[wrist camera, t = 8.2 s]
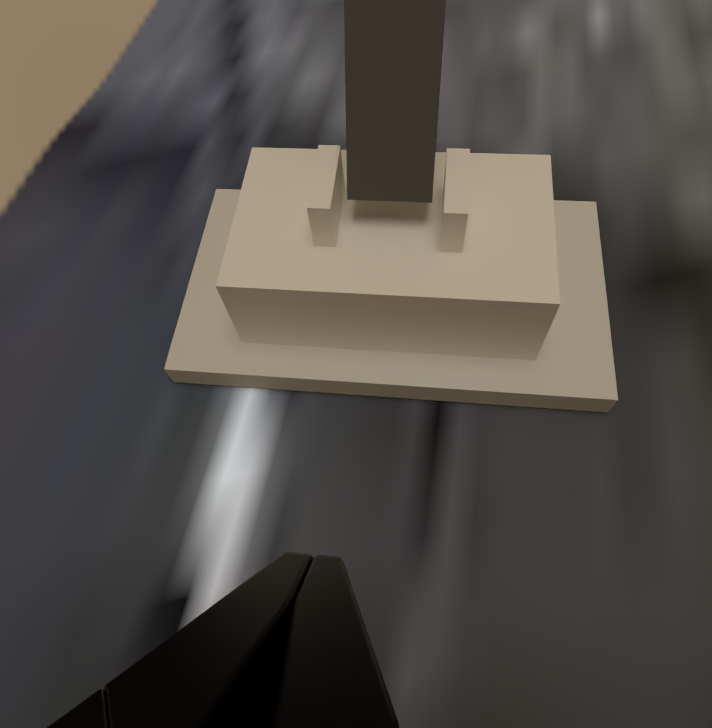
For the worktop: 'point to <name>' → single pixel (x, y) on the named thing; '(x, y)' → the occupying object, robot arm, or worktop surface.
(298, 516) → the worktop surface
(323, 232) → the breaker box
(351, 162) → the lever
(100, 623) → the worktop surface
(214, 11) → the worktop surface
